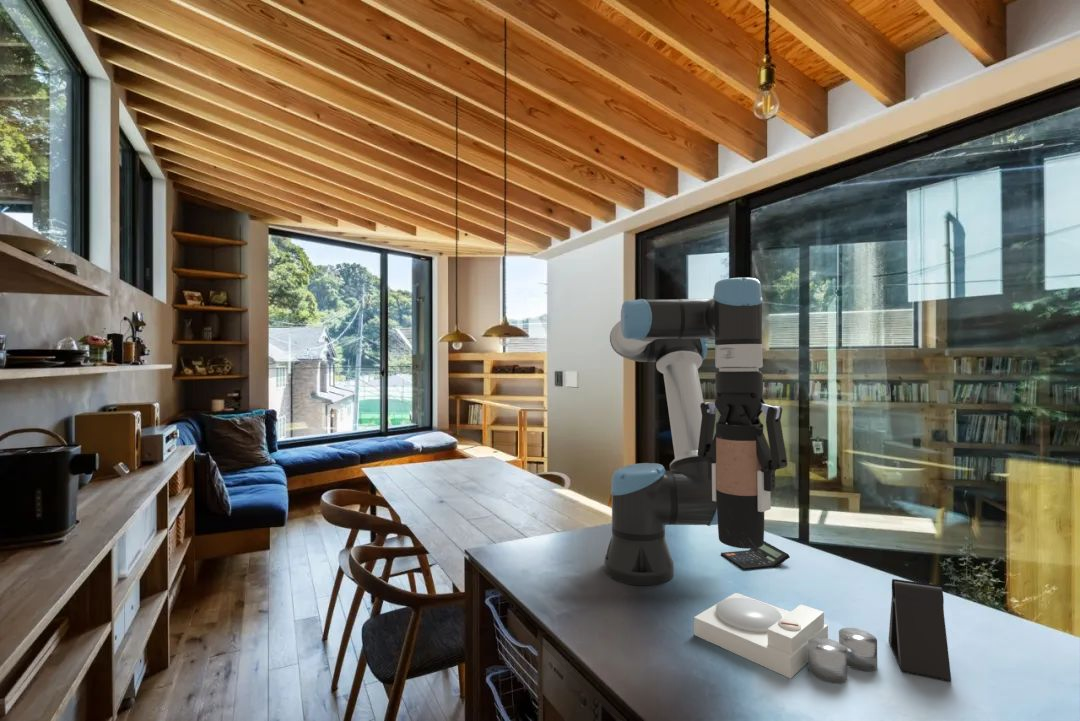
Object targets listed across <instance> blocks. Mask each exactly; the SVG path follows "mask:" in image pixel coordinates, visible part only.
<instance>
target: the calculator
mask: <svg viewBox="0 0 1080 721" xmlns="http://www.w3.org/2000/svg"><path fill="white" fill-rule="evenodd" d="M720 556H722V557H723V558H725V559H726V560H727V561H729V562H731V563H732V564H734V566H737V567H738V568H739V569H741V570H742V571H752V570H753V571H754V570H762V569H773V568H777V567H778V566H780V565H782V564H783V563H784V562H785V561H787V560H789V559H790V558H791V556H790V555H789V554H788V553H787V552H786V551H783V550H781V549H779V548H778V547H776V546H774V545H772V544H771V543H768V542H766V541H765V540H764V544H763V546H761V547H759V548H753V549H746V550H738V551H736V550H734V551H725V552H720Z"/></svg>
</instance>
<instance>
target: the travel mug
mask: <svg viewBox="0 0 1080 721" xmlns="http://www.w3.org/2000/svg"><path fill="white" fill-rule="evenodd" d="M761 424H762V428H760V429H758V428H757V427H756V426H740V425H738V424H734V425H723V424H718V421H716V422H715V433H716V489H717V490H716V494H717V515H718V525H717V530H718V531H717V533H718V534H717V535H718V540H719V542H720V543H722V544H723V545H726V546H728V547H732V548H737V549H746V550H750V549H753V548H759V547H761V546H763V544H764V541H765V511H764V512H759V511H758V490H757V471H759V470H760V469H762V467H761V465H760V462H759V460H758V457H757V454H756V435H758V436H762V434H763V433H764V424H763V423H762V422H761Z"/></svg>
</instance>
